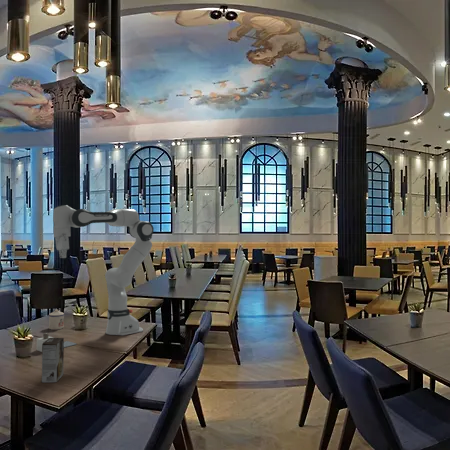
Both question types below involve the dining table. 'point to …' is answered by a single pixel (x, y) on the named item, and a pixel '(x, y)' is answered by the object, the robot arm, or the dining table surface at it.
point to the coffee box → (52, 359)
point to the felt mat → (68, 344)
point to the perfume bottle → (42, 341)
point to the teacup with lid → (56, 320)
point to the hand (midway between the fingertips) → (63, 258)
